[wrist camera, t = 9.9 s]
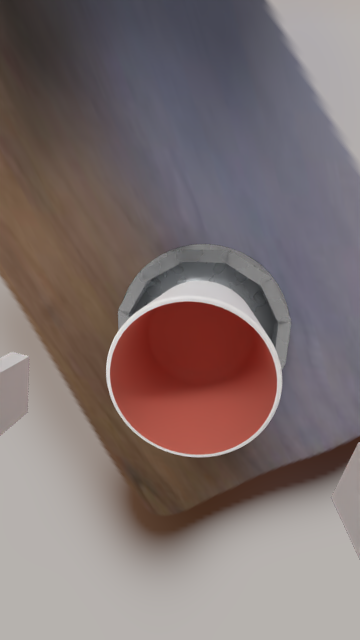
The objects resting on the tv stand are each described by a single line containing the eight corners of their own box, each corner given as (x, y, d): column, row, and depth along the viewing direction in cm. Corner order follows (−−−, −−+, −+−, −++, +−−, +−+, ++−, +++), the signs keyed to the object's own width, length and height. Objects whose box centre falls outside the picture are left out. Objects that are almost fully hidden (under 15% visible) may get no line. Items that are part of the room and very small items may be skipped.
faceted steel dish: (121, 242, 24) (110, 240, 21) (299, 247, 22) (309, 245, 19) (124, 394, 28) (116, 407, 25) (275, 410, 26) (281, 426, 23)
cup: (136, 292, 24) (82, 316, 14) (244, 267, 22) (266, 275, 12) (163, 387, 26) (131, 465, 16) (263, 372, 24) (295, 450, 14)
